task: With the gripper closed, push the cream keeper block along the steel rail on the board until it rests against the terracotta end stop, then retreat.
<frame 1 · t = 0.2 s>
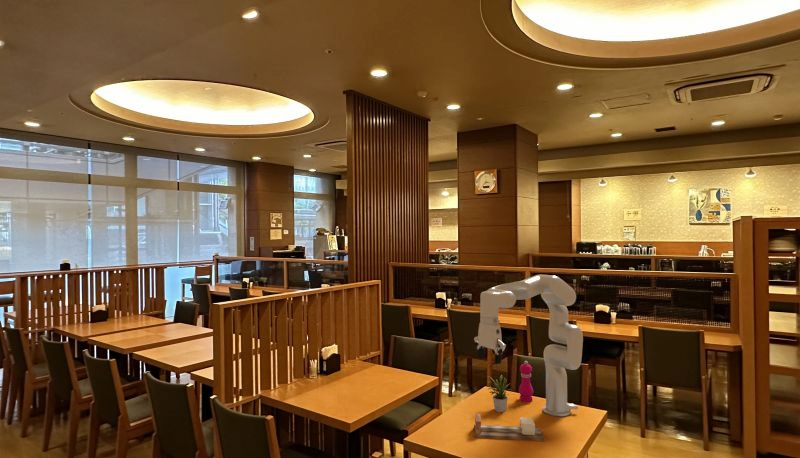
hand: (489, 361, 192), 31 cm above the table, tool pointing down, fingers open, 9 cm apart
keeper: (527, 426, 191), point 4 cm above the table, slide at 0.0 cm
pepper mill: (526, 400, 232), on the table
rail board: (507, 434, 191), on the table
house plant: (498, 409, 219), on the table
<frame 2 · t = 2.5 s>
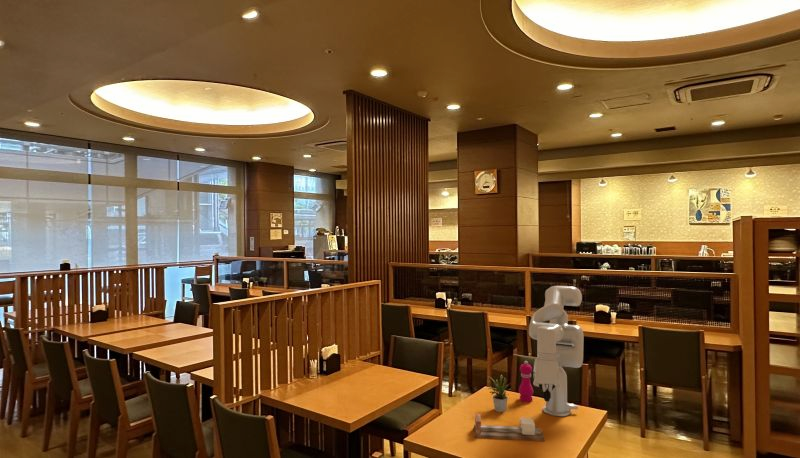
hand: (546, 400, 189), 15 cm above the table, tool pointing down, fingers closed
nothing on the table moved.
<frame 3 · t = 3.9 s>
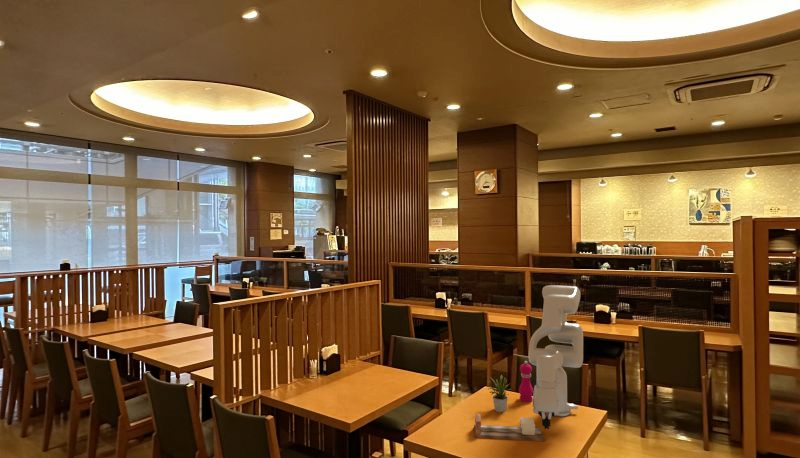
hand: (546, 427, 190), 4 cm above the table, tool pointing down, fingers closed
nothing on the table moved.
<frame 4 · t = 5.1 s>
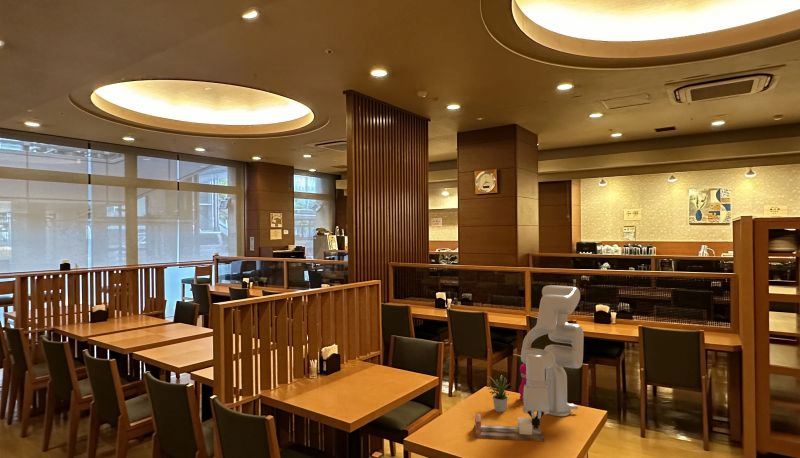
hand: (535, 427, 190), 4 cm above the table, tool pointing down, fingers closed
keeper: (524, 426, 191), point 4 cm above the table, slide at 1.1 cm, touching gripper
everything else where it was.
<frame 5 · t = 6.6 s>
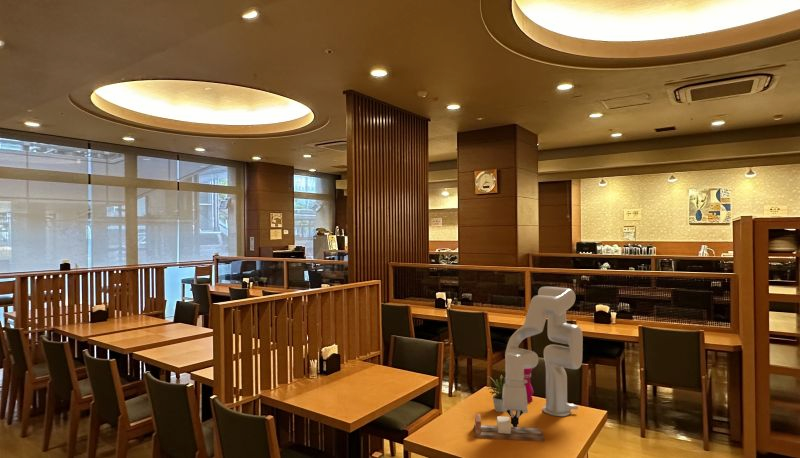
hand: (514, 425, 191), 4 cm above the table, tool pointing down, fingers closed
keeper: (503, 425, 192), point 4 cm above the table, slide at 9.7 cm, touching gripper
everything else where it was.
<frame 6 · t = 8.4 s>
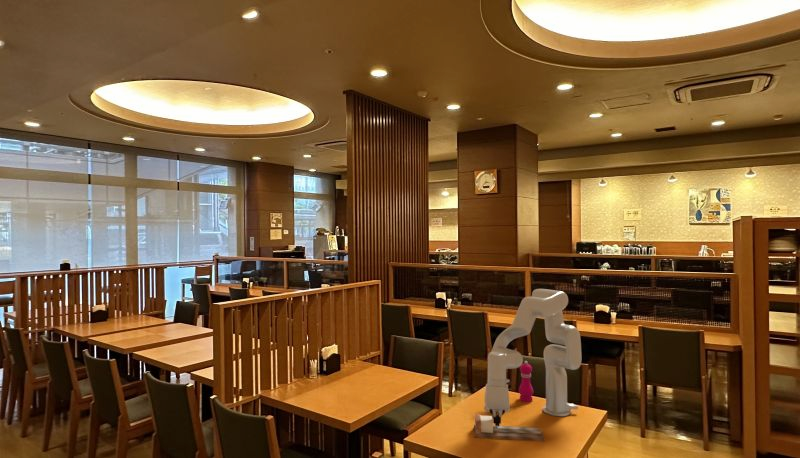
hand: (497, 425, 192), 4 cm above the table, tool pointing down, fingers closed
keeper: (486, 424, 193), point 4 cm above the table, slide at 17.0 cm, touching gripper, rail board
everything else where it was.
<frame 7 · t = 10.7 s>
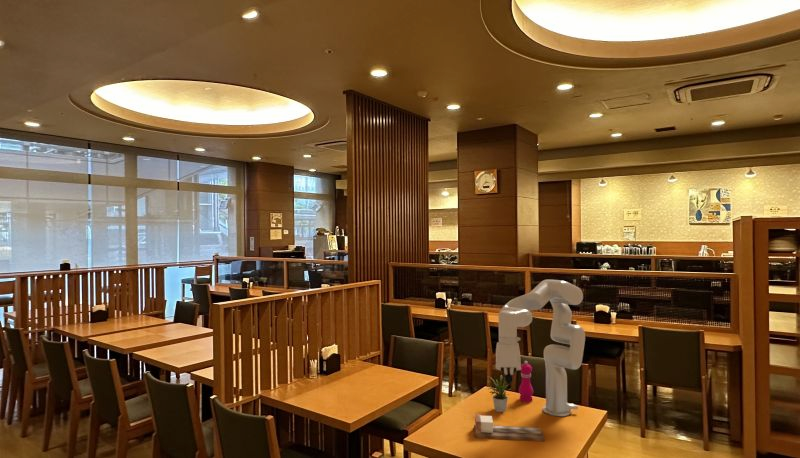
hand: (508, 383, 192), 21 cm above the table, tool pointing down, fingers closed
keeper: (486, 424, 193), point 4 cm above the table, slide at 17.0 cm
everything else where it was.
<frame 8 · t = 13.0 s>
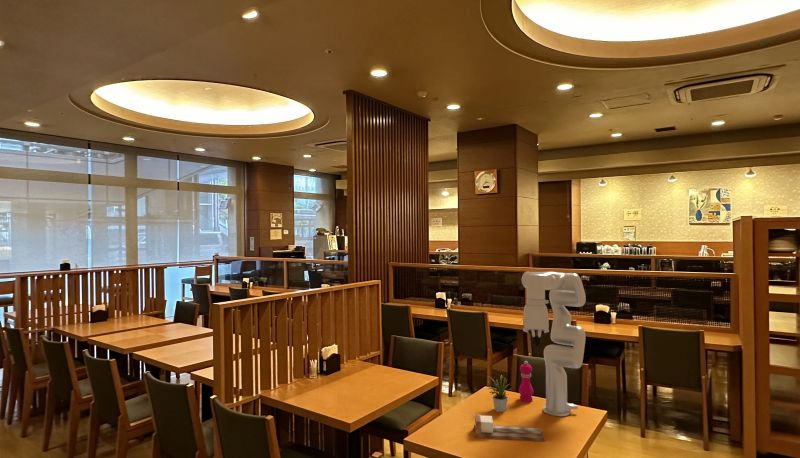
hand: (535, 345, 193), 37 cm above the table, tool pointing down, fingers closed
nothing on the table moved.
at the end: keeper slide at 17.0 cm; the gripper is holding nothing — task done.
